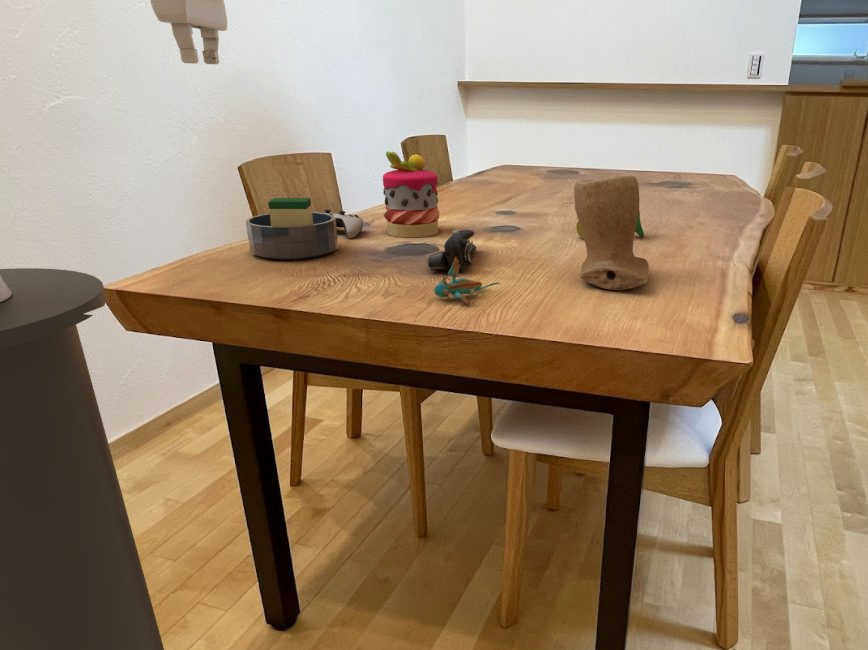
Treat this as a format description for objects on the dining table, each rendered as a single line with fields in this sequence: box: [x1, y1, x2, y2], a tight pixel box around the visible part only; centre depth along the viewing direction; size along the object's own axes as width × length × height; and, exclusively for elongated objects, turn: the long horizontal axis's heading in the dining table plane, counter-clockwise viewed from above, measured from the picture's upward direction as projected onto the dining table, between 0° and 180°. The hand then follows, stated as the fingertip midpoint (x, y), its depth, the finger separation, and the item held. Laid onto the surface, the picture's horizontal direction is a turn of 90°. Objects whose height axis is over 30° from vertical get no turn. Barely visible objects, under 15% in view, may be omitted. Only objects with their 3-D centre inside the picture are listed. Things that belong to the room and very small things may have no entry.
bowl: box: [245, 211, 339, 261], centre depth 111 cm, size 14×14×6 cm
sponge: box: [267, 197, 313, 227], centre depth 110 cm, size 6×4×8 cm, turn 95°
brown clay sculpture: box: [573, 174, 650, 291], centre depth 96 cm, size 15×12×15 cm
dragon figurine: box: [433, 257, 501, 305], centre depth 89 cm, size 6×7×8 cm
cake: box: [382, 151, 440, 238], centre depth 126 cm, size 10×11×15 cm
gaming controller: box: [323, 209, 364, 239], centre depth 126 cm, size 11×6×7 cm
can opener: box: [427, 229, 477, 271], centre depth 106 cm, size 18×7×6 cm, turn 170°
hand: (201, 63), depth 94 cm, fingers open, 8 cm apart
